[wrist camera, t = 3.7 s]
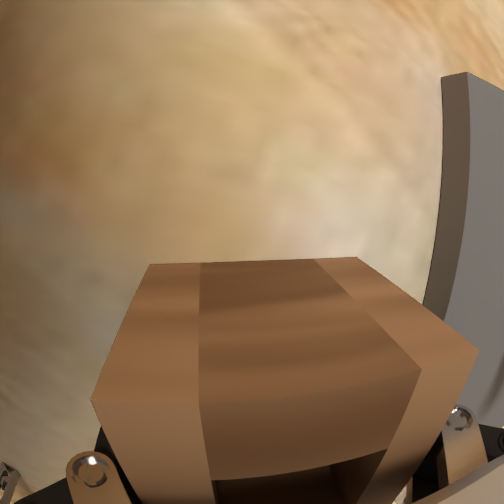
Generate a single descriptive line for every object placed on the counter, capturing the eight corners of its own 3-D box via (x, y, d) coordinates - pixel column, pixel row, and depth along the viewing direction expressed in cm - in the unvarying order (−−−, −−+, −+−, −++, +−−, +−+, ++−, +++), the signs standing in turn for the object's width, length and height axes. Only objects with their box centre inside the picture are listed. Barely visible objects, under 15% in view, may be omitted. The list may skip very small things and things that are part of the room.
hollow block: (149, 264, 9) (90, 400, 4) (356, 256, 10) (479, 350, 5) (177, 434, 12) (177, 553, 6) (327, 420, 13) (374, 523, 7)
